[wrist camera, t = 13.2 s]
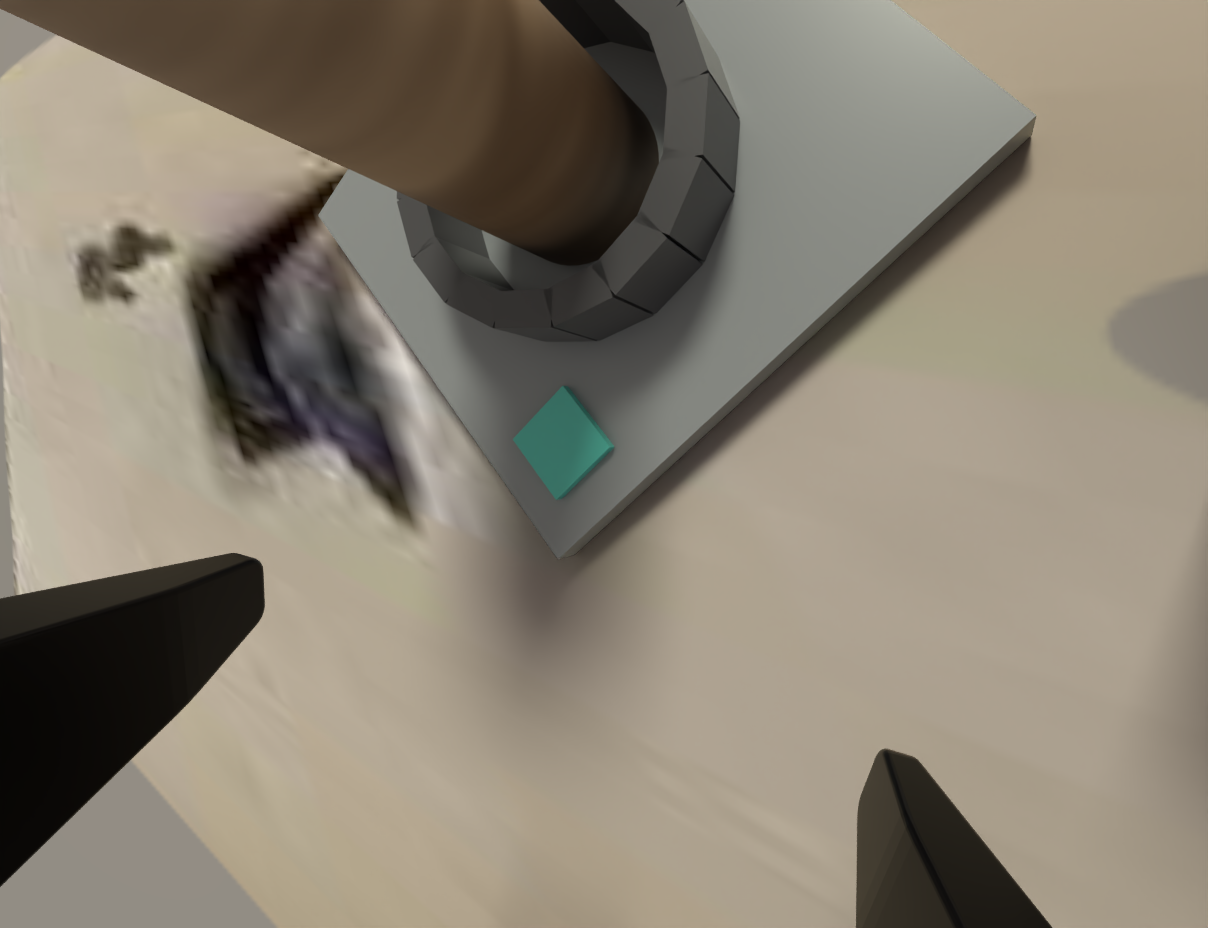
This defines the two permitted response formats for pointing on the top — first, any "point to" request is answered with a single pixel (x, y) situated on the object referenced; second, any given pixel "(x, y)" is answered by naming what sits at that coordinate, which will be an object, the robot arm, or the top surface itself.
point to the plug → (406, 100)
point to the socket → (686, 237)
